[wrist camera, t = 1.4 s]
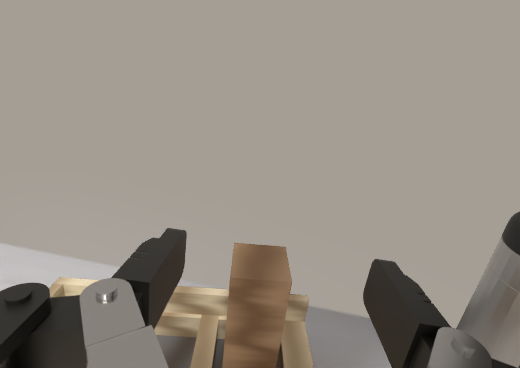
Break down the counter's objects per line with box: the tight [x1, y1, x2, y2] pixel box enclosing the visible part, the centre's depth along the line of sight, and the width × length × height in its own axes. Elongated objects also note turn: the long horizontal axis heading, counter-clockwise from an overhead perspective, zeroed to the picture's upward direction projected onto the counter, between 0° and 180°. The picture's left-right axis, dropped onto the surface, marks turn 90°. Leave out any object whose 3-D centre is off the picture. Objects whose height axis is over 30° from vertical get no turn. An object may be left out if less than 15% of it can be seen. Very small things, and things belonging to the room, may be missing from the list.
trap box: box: [49, 277, 314, 368], centre depth 28 cm, size 28×10×6 cm, turn 91°
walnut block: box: [222, 243, 292, 368], centre depth 27 cm, size 5×5×14 cm
